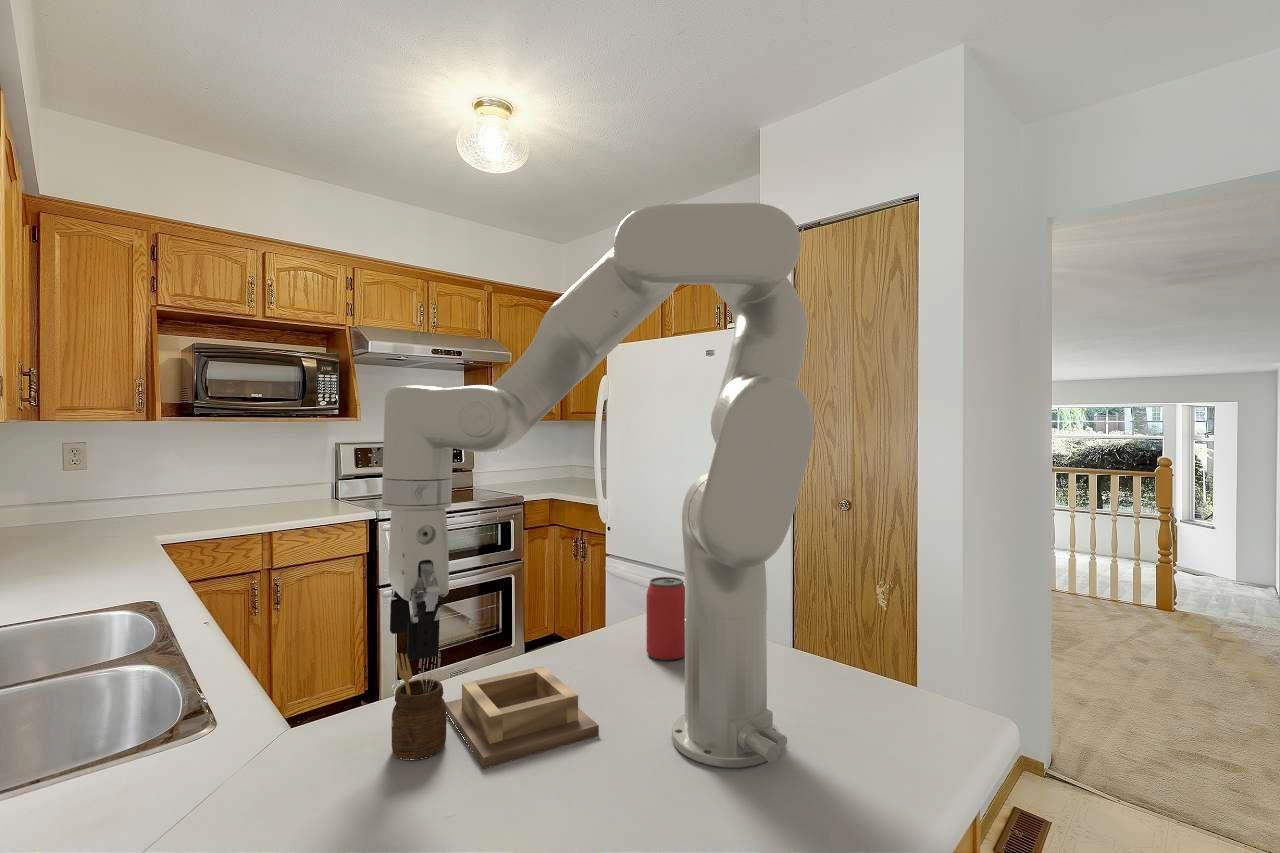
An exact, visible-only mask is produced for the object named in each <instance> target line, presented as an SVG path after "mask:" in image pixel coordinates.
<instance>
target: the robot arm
mask: <svg viewBox="0 0 1280 853" xmlns="http://www.w3.org/2000/svg"><path fill="white" fill-rule="evenodd" d="M801 250H802V239H801V234H800V230H799V228H798V226H797V224H796V222H795V221H794V220H793V218H792V217H791V216H790V215H789V214H787V213H786V212H785V211H783V210H782V209H780V208H778V207H776V206H773V205H770V204H766V203H760V202H759V203H758V202H729V203H728V202H724V203H715V202H714V203H668V204H667V203H666V204H655V205H650V206H645V207H641V208H639V209H636V210H634V211H632V212H631V213H630V214H628V215H627V216H625V218H624V219H623V220H621V221H620V223H619V226H618V227H617V229H616V232H615V234H614V237H613V247H612V248H611V249H610V250H609V251H608V252H607V253H606V254H605V255H604V256H603V257H602V258H601V259H600V260H599V261H597V263H596V264H594V265H593V267H592V268H590V269H589V270H588V271H587V272H586V273H585V274H583V276H582V277H581V278H580V279H579V280H577V282H575V284H573V285H572V286H571V287H570V288H569V289H568V290H567V291H566V292H565V293H564V294H562V295H561V296H560V297H559V298H558V299H557V300H556V301H555V302H553V304H552V305H551V306H550V307H549V309H547V311H546V313H545V314H544V316H543V318H542V319H541V322H540V323H539V324H540V325H539V327H538V328H537V331H536V333H535V336H534V338H533V339H532V341H531V343H530V344H529V346H528V347H527V348H526V350H525V351H524V352H523V354H522V355H520V357H519V358H518V359H517V361H515V362H514V364H513V365H512V366H510V367H509V368H508V369H507V371H506V372H504V373H503V374H502V375H501V376H500V377H498V379H497V380H496V381H495V382H493V383H492V384H491V385H484V384H482V385H481V384H479V385H478V384H476V385H466V386H457V387H446V388H444V387H438V386H427V385H398V386H394V387H391V388H390V389H389V390H388V391H387V393H386V395H385V397H384V408H383V409H384V410H383V411H384V414H383V415H384V417H383V445H382V446H383V451H382V479H381V480H382V481H381V482H382V484H381V508H382V509H384V510H390V520H389V522H390V523H389V524H390V525H389V542H388V581H389V584H390V586H391V587H392V588H391V599H390V611H389V612H390V613H389V614H390V615H389V617H390V618H389V631H390V633H391V634H392V635H396V634H403V633H407V636H406V637H407V639H406V654H407V658H408V659H409V661H417V660H421V659H422V660H423V659H430V658H432V657H433V658H436V657H437V656H439V655H438V653H439V654H440V652H439V651H440V650H439V648H440V646H439V645H440V619H441V618H440V617H441V616H440V613H441V612H440V605H441V604H440V602H439V596H440V598H445V597H446V596H447V595H448V594H449V590H450V570H449V569H450V567H449V566H450V564H449V563H450V562H449V559H450V558H449V556H450V554H449V532H448V531H449V530H448V519H447V518H448V517H447V512H446V511H447V510H446V509H448V508H451V507H452V491H453V489H452V488H453V484H452V483H453V458H454V457H453V455H454V453H453V450H455V449H456V450H461V451H466V452H472V453H490V452H496V451H498V450H499V451H500V450H503V449H508V448H510V447H511V446H514V445H515V444H516V443H518V441H520V440H521V439H522V438H524V436H525V435H526V434H527V433H528V432H529V431H531V430H532V429H533V428H534V427H535V426H536V425H537V424H538V423H539V422H540V421H541V420H543V418H544V417H545V416H546V415H547V414H548V413H550V411H551V410H553V408H554V407H556V405H558V404H559V402H560V401H562V400H563V399H564V398H565V397H566V396H567V394H569V392H570V391H571V390H573V389H574V387H576V385H578V384H580V382H582V380H583V379H585V378H586V377H587V376H588V375H589V374H590V373H592V371H593V370H595V368H596V367H597V366H598V365H599V364H600V363H601V362H602V361H604V359H605V358H606V357H607V356H608V355H609V354H610V353H611V352H613V350H614V349H615V348H616V347H618V346H619V345H620V344H621V342H622V341H623V340H624V339H626V338H627V337H628V335H630V334H631V333H632V332H633V331H634V330H635V329H637V327H638V326H639V325H641V323H642V322H644V321H645V320H646V319H647V318H649V316H650V315H651V314H652V313H653V312H654V311H656V309H657V308H658V307H660V306H661V305H662V304H663V303H664V301H666V300H667V299H668V298H669V297H670V296H671V295H672V294H673V293H674V292H675V291H676V289H677V288H678V286H679V285H695V286H696V285H702V286H703V285H711V287H712V288H713V289H714V291H715V293H717V295H718V296H719V298H721V299H722V300H723V302H724V303H725V304H726V305H727V307H728V308H729V310H730V312H731V316H732V317H733V323H734V324H733V325H734V330H733V331H734V333H733V339H732V343H731V347H730V352H729V356H728V361H727V364H726V368H725V370H724V375H723V378H722V381H721V385H720V387H719V392H718V394H717V398H716V401H715V404H714V407H713V410H712V412H711V418H710V431H711V435H712V437H713V440H714V443H715V449H714V452H713V456H712V459H711V463H710V467H709V470H708V472H706V473H704V474H702V475H701V476H700V477H698V478H697V479H695V481H694V482H693V483H692V484H691V485H690V487H689V489H688V490H687V491H686V494H685V496H684V500H683V505H682V511H681V512H682V513H681V529H682V531H681V532H682V542H683V543H682V545H683V546H682V547H683V558H684V560H683V561H684V562H683V564H684V565H683V566H684V586H685V656H684V713H683V714H682V715H680V716H679V717H678V718H677V719H676V720H675V721H674V722H673V724H672V727H671V740H672V744H673V745H674V746H675V749H677V750H678V751H679V752H680V753H681V754H683V755H684V756H686V757H687V758H689V759H692V760H693V761H695V762H699V763H701V764H705V765H707V766H714V767H719V768H720V767H721V768H731V769H732V768H745V767H746V768H747V767H752V766H757V765H760V764H763V763H766V762H769V763H770V764H772V763H775V762H776V761H777V760H778V759H779V756H780V754H781V750H782V749H785V747H787V744H788V737H787V736H786V735H784V734H783V733H781V732H780V730H779V728H778V727H777V726H776V725H775V724H774V722H773V719H774V718H773V714H774V713H773V711H771V710H770V709H768V708H767V707H768V704H767V702H768V700H767V699H768V698H767V696H768V694H767V688H768V684H767V683H768V682H767V678H768V677H767V675H768V674H767V671H768V670H767V664H768V662H767V661H768V660H767V659H768V658H767V656H768V655H767V646H768V645H767V610H768V604H767V603H768V595H767V592H768V591H767V590H768V589H767V588H768V587H767V570H766V561H768V560H770V559H771V558H772V557H773V556H774V555H775V554H776V553H777V552H778V550H779V549H780V548H781V546H782V544H783V543H784V540H785V539H786V536H787V534H788V531H789V529H790V526H791V523H792V520H793V516H794V513H795V509H796V505H797V502H798V498H799V494H800V492H801V487H802V483H803V480H804V476H805V472H806V469H807V464H808V462H809V458H810V453H811V450H812V445H813V440H814V431H815V430H814V429H815V422H814V419H815V418H814V413H813V410H812V406H811V403H810V401H809V399H808V397H807V395H806V394H805V393H804V391H803V390H802V389H801V388H800V387H799V386H798V384H799V380H800V376H801V372H802V367H803V366H802V365H803V361H804V357H805V352H806V346H807V341H808V320H807V315H806V311H805V308H804V305H803V303H802V300H801V298H800V296H799V294H798V293H797V290H796V289H795V287H794V285H793V284H792V282H791V281H790V279H789V278H788V276H789V275H790V274H791V273H792V271H793V270H794V269H795V267H796V265H797V263H798V262H799V259H800V255H801Z"/></svg>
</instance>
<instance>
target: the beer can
mask: <svg viewBox="0 0 1280 853" xmlns="http://www.w3.org/2000/svg"><path fill="white" fill-rule="evenodd" d="M646 653H647V654H648V656H649V657H651V658H652V659H654V660H658V661H665V662H666V661H676V660H677V661H678V660H680V659H682V658H685V580H683V579H682V578H679V577H676V576H675V577H673V576H659V577H654V578H651V579H650V580H649V584H648V587H647V591H646Z"/></svg>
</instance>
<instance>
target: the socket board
mask: <svg viewBox="0 0 1280 853" xmlns="http://www.w3.org/2000/svg"><path fill="white" fill-rule="evenodd" d="M445 704H446V712H447V714H448V715H449V716H450V718H451V719H452V721H453V722H454V724H455V725H456V727H457V728H458V730H459V731H460V733H461V734H462V736H463V737H464V739H465V741H466V742H467V744H468V745H469V747H470V748H471V750H472V751H473V753H474V754H475V756H476V757H475V756H474V757H475V758H476V760H477V759H478V760H477V762H478V763H479V762H480V763H479V765H480V766H481V768H484V769H487V768H490V766H491V767H493V766H497V765H500V763H501V764H505V763H509V762H512V761H514V760H518V759H521V758H525V756H526V757H529V756H532V754H533V755H536V754H539V753H543V752H546V751H549V749H550V750H553V749H556V748H559V747H564V746H567V745H570V744H573V743H576V742H580V741H584V740H587V739H590V738H594V737H598V736H599V735H600V733H599V732H600V730H599V729H600V725H599V724H598V723H597V722H596V721H594V719H592V718H591V717H590V716H589V715H588V714H586V713H585V712H584V711H583V710H582V709H580V708H579V694H577V693H576V692H575V691H574V690H572V688H570V687H569V686H568V685H566V683H564V682H562V680H560V679H559V678H558V677H556V676H555V675H554V674H553V673H551V672H550V671H549V670H548V669H547V668H546V667H544V666H538V667H533V668H529V669H523V670H519V671H514V672H510V673H504V674H500V675H497V676H491V677H486V678H485V677H484V678H481V679H478V680H472V681H471V680H470V681H468V682H467V681H466V682H462V683H461V698H459V699H455V700H454V699H453V700H451V701H447V702H446V701H445ZM447 714H446V715H447ZM458 730H457V731H458ZM460 733H459V734H460ZM462 736H461V737H462ZM464 739H463V740H464ZM465 741H464V742H465ZM466 742H465V743H466ZM467 744H466V745H467ZM468 745H467V746H468ZM469 747H468V748H469ZM470 748H469V749H470ZM471 750H470V751H471ZM545 750H546V751H545ZM472 751H471V752H472ZM542 751H543V752H542ZM473 753H472V754H473ZM535 753H536V754H535ZM474 754H473V755H474ZM528 755H529V756H528ZM511 760H512V761H511Z"/></svg>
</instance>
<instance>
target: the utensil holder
mask: <svg viewBox="0 0 1280 853" xmlns="http://www.w3.org/2000/svg"><path fill="white" fill-rule="evenodd" d="M440 653H441V652H440V650H439V653H438V655H437V656H440ZM399 654H400V655H399ZM431 658H432V659H431V661H433V659H434V658H435V660H434V663H436V662H437V666H438V668H437V670H436V666H434V669H433V665H431V668H430V671H432V669H433V670H436V674H435V671H433V673H430V676H429V677H431V676H432V677H431V678H427V677H428V674H426V676H424V673H425V672H424V671H425V670H424V668H425V666H423V669H422V672H423V673H422V675H421V672H418V674H419V675H418V676H419V679H415V680H412V678H413V673H412V668H411V664H410V663H411V662H410V660H409V659H408V658H407V653H405V654H404V653H403V652H401V653H399V652H395V659H396V666H397V671H398V677H399V678H400V679H401V680H403V681H404V683H403V684H401V685H400V686H398V687H397V688H396V690H395V695H394V701H395V705H394V707H393V709H392V712H391V748H392V753H393V755H394V756H395V757H396V756H397V757H396V758H397V759H400V758H402V759H401V760H403V759H409V760H408V761H411V760H410V759H420V760H422V759H421V758H425V757H428V758H430V757H429V756H431V755H433V756H435V755H436V753H437V752H438V753H440V752H441V751H442V750H443V749H444V747H445V745H446V741H447V714H446V704H445V702H446V701H445V700H444V698H443V696H444V688H443V684H442V682H441V681H439V680H437V677H438V674H439V672H440V671H439V670H440V669H439V668H440V667H441V666H440V665H441V663H440V659H437V657H431ZM423 659H424V661H423ZM423 659H420V662H419V663H418V667H421V663H422V661H423V663H425V662H426V661H425V660H426V658H423ZM436 660H437V661H436ZM428 663H429V661H427V664H426V667H428V665H429V664H428ZM434 674H435V677H434ZM424 677H426V678H424ZM433 677H434V679H433ZM410 680H411V681H410ZM442 748H443V749H442ZM441 749H442V750H441ZM440 750H441V751H440ZM439 751H440V752H439ZM438 753H437V754H438ZM434 754H435V755H434ZM431 757H432V756H431ZM425 759H426V758H425Z"/></svg>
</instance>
